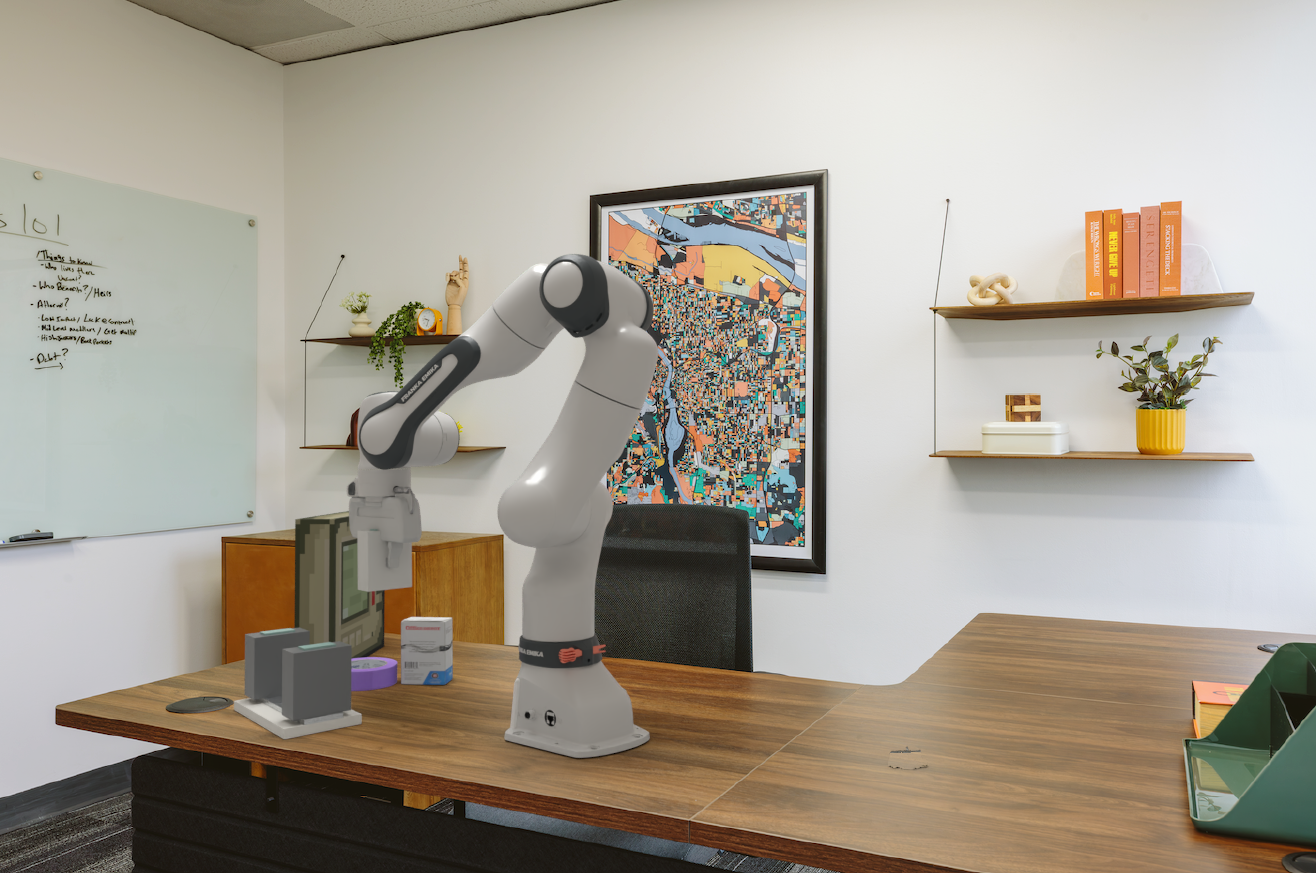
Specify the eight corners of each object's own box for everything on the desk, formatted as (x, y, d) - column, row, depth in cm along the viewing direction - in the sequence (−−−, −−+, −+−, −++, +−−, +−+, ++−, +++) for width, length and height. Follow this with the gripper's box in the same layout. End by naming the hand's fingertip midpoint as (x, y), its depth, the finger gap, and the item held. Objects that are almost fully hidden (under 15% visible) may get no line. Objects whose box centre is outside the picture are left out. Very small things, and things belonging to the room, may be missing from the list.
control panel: (333, 678, 176) (334, 519, 176) (294, 678, 176) (295, 519, 176) (384, 646, 206) (385, 510, 206) (350, 646, 206) (351, 510, 206)
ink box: (453, 679, 175) (454, 616, 175) (445, 685, 170) (445, 620, 170) (409, 678, 176) (410, 615, 176) (399, 684, 171) (400, 620, 171)
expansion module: (412, 586, 161) (411, 527, 161) (368, 591, 156) (367, 530, 156) (401, 585, 164) (400, 526, 164) (357, 589, 158) (357, 529, 159)
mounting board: (361, 723, 145) (361, 714, 145) (284, 739, 137) (284, 729, 137) (306, 697, 161) (306, 688, 161) (233, 709, 153) (234, 700, 153)
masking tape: (410, 683, 173) (410, 662, 173) (354, 695, 164) (354, 673, 164) (373, 674, 180) (373, 654, 180) (318, 685, 171) (318, 664, 171)
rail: (343, 717, 143) (343, 712, 143) (304, 725, 139) (304, 719, 139) (288, 691, 159) (289, 686, 159) (252, 697, 155) (252, 692, 155)
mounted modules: (351, 710, 145) (351, 643, 145) (293, 721, 139) (293, 651, 139) (298, 685, 160) (299, 625, 160) (244, 694, 154) (245, 632, 154)
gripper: (430, 486, 155) (431, 569, 154) (375, 485, 170) (376, 561, 169) (395, 487, 150) (396, 573, 150) (342, 486, 166) (342, 564, 165)
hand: (385, 566), depth 160 cm, fingers closed on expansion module, 4 cm apart
